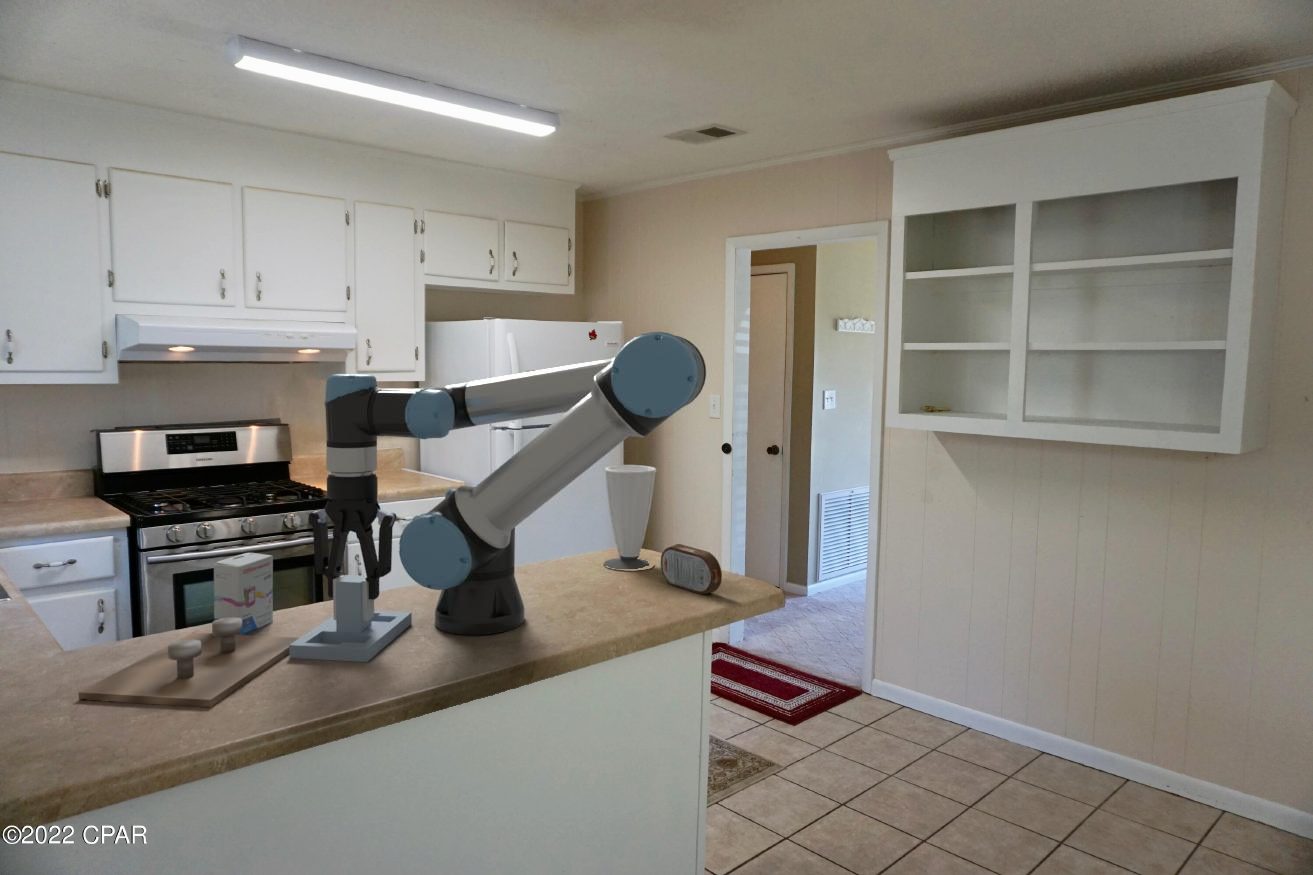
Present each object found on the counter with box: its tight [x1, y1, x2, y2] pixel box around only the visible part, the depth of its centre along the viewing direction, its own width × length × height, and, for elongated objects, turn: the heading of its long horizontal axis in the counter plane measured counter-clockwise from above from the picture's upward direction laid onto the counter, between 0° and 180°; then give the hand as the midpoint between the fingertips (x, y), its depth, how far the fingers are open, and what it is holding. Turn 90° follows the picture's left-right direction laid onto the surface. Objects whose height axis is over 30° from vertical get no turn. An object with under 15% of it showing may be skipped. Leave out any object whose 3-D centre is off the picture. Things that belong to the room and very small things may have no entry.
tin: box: [660, 543, 723, 595], centre depth 168 cm, size 15×3×8 cm, turn 43°
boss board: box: [78, 617, 300, 708], centre depth 121 cm, size 18×24×6 cm
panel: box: [288, 574, 413, 663], centre depth 135 cm, size 12×18×10 cm, turn 175°
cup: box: [603, 464, 658, 569], centre depth 186 cm, size 12×12×22 cm
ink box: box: [213, 552, 274, 635], centre depth 139 cm, size 9×5×12 cm, turn 168°
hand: (354, 617), depth 135 cm, fingers closed on panel, 4 cm apart
